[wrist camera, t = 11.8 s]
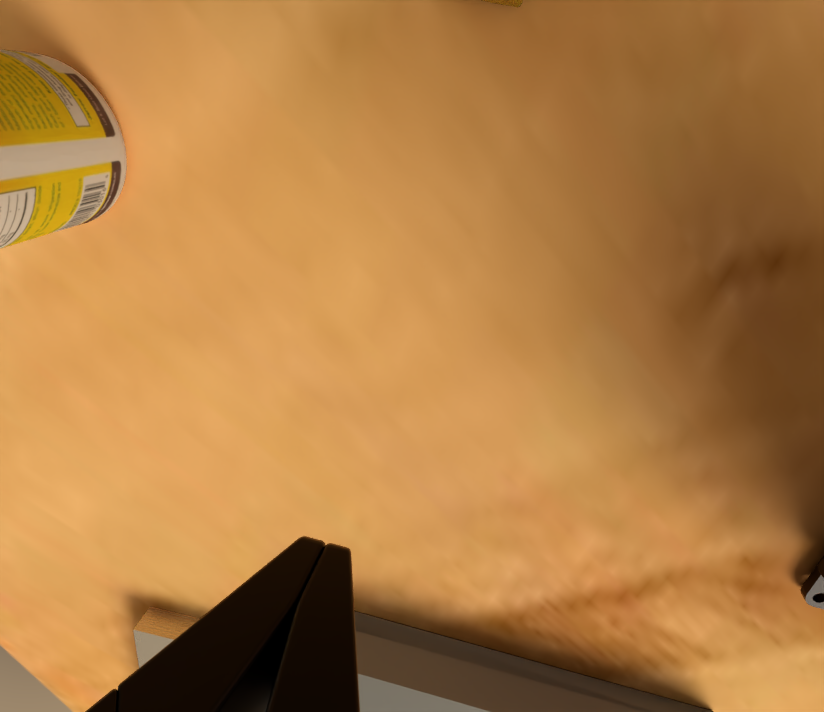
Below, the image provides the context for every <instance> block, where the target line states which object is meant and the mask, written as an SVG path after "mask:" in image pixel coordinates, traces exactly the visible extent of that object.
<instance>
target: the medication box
mask: <svg viewBox="0 0 824 712" xmlns="http://www.w3.org/2000/svg"><path fill="white" fill-rule="evenodd" d="M482 1H486V2H491V3H497V4H502V5H509V6H514V7H520V6H521V4H522V1H523V0H482Z"/></svg>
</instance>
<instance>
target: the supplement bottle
mask: <svg viewBox="0 0 824 712" xmlns="http://www.w3.org/2000/svg"><path fill="white" fill-rule="evenodd" d="M126 169H127V157H126V148H125V143H124V139H123V136H122V133H121V130H120V127H119V124H118V122H117V120H116V118H115V115H114V114H113V112H112V110H111V108H110V107H109V105H108V104H107V102H106V101H105V99H104V98H103V96H102V95H101V94H100V93H99V91H98V90H97V89H96V88H95V87H94V86H93V85H92V84H91V83H90V82H89V81H88V80H87V79H86V78H85V77H84V76H83V75H81V74H80V73H79V72H77V71H76V70H75V69H73V68H72V67H70V66H68V65H66V64H65V63H63V62H61V61H59V60H57V59H54V58H51V57H48V56H45V55H41V54H37V53H30V52H21V51H10V50H0V248H3V247H7V246H10V245H13V244H17V243H20V242H23V241H27V240H30V239H34V238H37V237H40V236H43V235H46V234H50V233H53V232H56V231H60V230H63V229H67V228H70V227H73V226H76V225H80V224H83V223H87V222H89V221H92V220H94V219H96V218H98V217H100V216H101V215H103V214H104V213H105V212H107V211H108V210H109V209H110V208H111V207H112V206H113V205H114V203H115V202H116V200H117V199H118V197H119V195H120V193H121V191H122V188H123V185H124V182H125V178H126Z"/></svg>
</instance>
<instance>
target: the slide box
mask: <svg viewBox="0 0 824 712" xmlns="http://www.w3.org/2000/svg"><path fill="white" fill-rule="evenodd" d="M354 615H355V632H356V650H357V668H358V685H359V703H360V712H713V711H710V710H707V709H703V708H699V707H696V706H692V705H689V704H685V703H682V702H678V701H674V700H671V699H667V698H664V697H660V696H656V695H653V694H649V693H646V692H642V691H638V690H635V689H631V688H628V687H624V686H621V685H617V684H613V683H610V682H606V681H603V680H599V679H595V678H592V677H588V676H585V675H581V674H578V673H574V672H570V671H567V670H563V669H560V668H556V667H552V666H549V665H545V664H542V663H538V662H534V661H531V660H527V659H524V658H520V657H517V656H513V655H509V654H506V653H502V652H499V651H495V650H491V649H488V648H484V647H481V646H477V645H473V644H470V643H466V642H463V641H459V640H456V639H452V638H448V637H445V636H441V635H438V634H434V633H430V632H427V631H423V630H420V629H416V628H413V627H409V626H405V625H402V624H398V623H395V622H391V621H387V620H384V619H380V618H377V617H373V616H369V615H366V614H362V613H359V612H355V611H354Z"/></svg>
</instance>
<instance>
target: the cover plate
mask: <svg viewBox="0 0 824 712" xmlns="http://www.w3.org/2000/svg"><path fill="white" fill-rule="evenodd" d="M199 619H200V618H196V617H192V616H188V615H184V614H180V613H176V612H172V611H167V610H163V609H159V608H155V607H151V606H150V607H149V609H148V610H147V611H146V613H145V614H144V615H143V617H142V618H141V620H140V621H139V622H138V624H137V625H136V626H135V628H134V629H133V631H134V638H135V644H136V650H137V657H138V663H139V668H140V667H141V666H143V665H144V664H145V663H146V662H147V661H149V660H150V659H151V658H152V657H154V656H155V655H156V654H157V653H158V652H160V651H161V650H162V649H163V648H165V647H166V646H167V645H168V644H170V643H171V642H172V641H173V640H174V639H176V638H177V637H178V636H179V635H181V634H182V633H183V632H184V631H186V630H187V629H188V628H189V627H190V626H192V625H193V624H194V623H195V622H197V621H198V620H199Z"/></svg>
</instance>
